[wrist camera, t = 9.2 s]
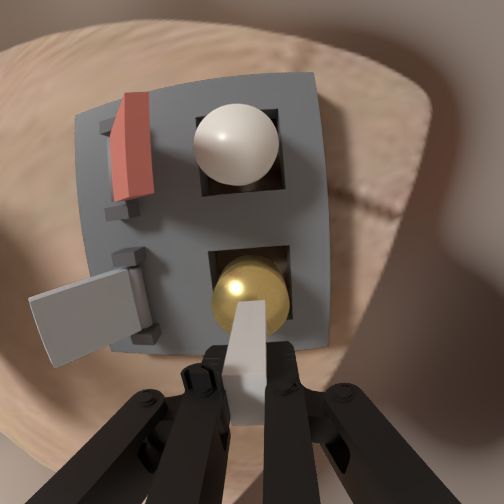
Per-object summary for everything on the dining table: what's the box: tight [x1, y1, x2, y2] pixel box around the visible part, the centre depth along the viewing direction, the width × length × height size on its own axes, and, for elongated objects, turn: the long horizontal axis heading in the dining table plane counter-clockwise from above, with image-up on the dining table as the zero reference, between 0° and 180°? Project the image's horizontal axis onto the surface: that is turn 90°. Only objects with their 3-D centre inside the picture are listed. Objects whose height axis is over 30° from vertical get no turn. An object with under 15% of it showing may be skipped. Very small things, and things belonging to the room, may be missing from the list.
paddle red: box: [107, 92, 154, 202], centre depth 15 cm, size 2×5×9 cm
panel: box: [75, 72, 330, 355], centre depth 20 cm, size 20×22×5 cm
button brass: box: [211, 255, 290, 336], centre depth 19 cm, size 5×5×4 cm
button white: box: [193, 104, 279, 186], centre depth 17 cm, size 5×5×4 cm
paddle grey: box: [28, 265, 153, 369], centre depth 17 cm, size 2×5×9 cm
